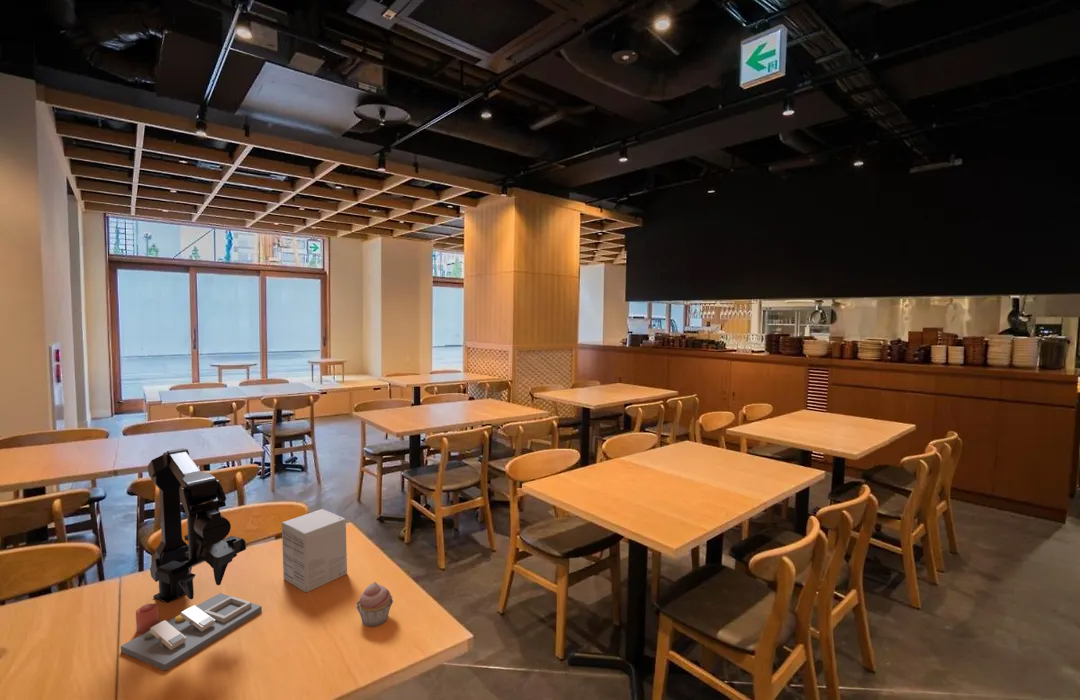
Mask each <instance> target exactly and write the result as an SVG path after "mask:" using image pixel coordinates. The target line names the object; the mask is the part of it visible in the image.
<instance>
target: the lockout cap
mask: <svg viewBox="0 0 1080 700" xmlns="http://www.w3.org/2000/svg"><path fill="white" fill-rule="evenodd" d="M159 618H160V617H159V605H158V604H156V603H147V604H144V605H141V606H140V607H138V609H136V611H135V620H136V621H135V622H136V625H135V626H136V633H137V634H140V635H142V634H144V633H146V632H148V631H150V628H151V627H153V626H155V625H156V624H158V623H160V622H159V621H160V619H159Z"/></svg>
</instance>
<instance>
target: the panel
mask: <svg viewBox="0 0 1080 700" xmlns="http://www.w3.org/2000/svg"><path fill="white" fill-rule="evenodd" d="M195 606H196V607H198V608H199V609H201V610H202V611H203V612H206V613H207V614H208V615H209V616H211V617H212V618H213V619H215V624H214V625H212V626H211V627H209V628H207V629H205V630H204V631H200V630H199V629H198V628H196V627H195V626H193V625H192V624H190V623H189V622H188V621H187V620H185V619H184V618H182V617H181V613H180V614H178V615H176V616H175V617H173V618H170V619H168V620H166V621H167V622H168V623H169V624H170V625H172V626H173V627H174V628H177V629H178V631H179V632H180V633H181V634H183V635H184V636H185V637H186V642H184V643H183V644H181V645H179V646H177V647H176V648H174V649H172V650H170V649H169V648H168V647H167V646H166V645H165V644H163V643H162V642H161V641H158V639H157V638H156V637H155V636H154V635H153V634H152V633H150V631H148V632H146V633H144V634H140V635H139V636H137V637H134V638H133V639H131V640H129V641H127V642H126V643H123V644H122V645H120V652H121V653H123V654H124V655H127V656H130V657H131V658H134V659H137V660H139V661H141V662H143V663H146V664H148V665H150V666H153V667H155V668H157V669H159V670H162V671H164V672H166V671H168V670H169V669H170V668H173V667H174V666H177V664H179V663H180V662H182V661H184V660H186V659H187V658H189V657H190V656H193V655H194V654H195V653H197V652H199V651H200V650H202V649H203V648H205V647H207V646H208V645H209V644H211V643H213V642H215V641H216V640H218V639H219V638H221V637H223V636H224V635H226V634H228V633H229V632H231V631H232V630H234V629H236V628H238V627H240V626H241V625H242V624H244V623H246V622H247V621H249V620H251V619H252V618H254V617H255V616H257V615H259V614H260V613H262V609H263V607H262V605H259V604H257V603H253V602H252V601H248V600H245V599H243V598H239V597H236V596H233V595H231V596H230V595H228V594H225V593H221V592H219V593H217V594H216V595H214V596H211V597H210V598H208V599H206V600H205V601H202V602H201V603H199V604H197V605H195Z"/></svg>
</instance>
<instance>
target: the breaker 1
mask: <svg viewBox="0 0 1080 700" xmlns="http://www.w3.org/2000/svg"><path fill="white" fill-rule="evenodd" d="M167 621H168V620H166V619H165V620H163V621H160V622H159V623H158V624H156V625H155V626H153V627H151V628H150V633H152V634H153V635H154V636H155V637H156V638H157V639H158V641H161V642H162V643H163V644H165V645H166V646H167V647H168V648H169V649H170V650H172V649H174V648H176V647H177V646H179V645H181V644H183V643H184V642H186V637H185V636H184V635H183V634H181V633H180V632H179V631H178V629H177V628H174V627H173V626H172V625H170V624H169V623H168V622H167Z"/></svg>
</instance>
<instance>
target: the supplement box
mask: <svg viewBox="0 0 1080 700" xmlns="http://www.w3.org/2000/svg"><path fill="white" fill-rule="evenodd" d="M281 535H282V539H281V540H282V542H281V543H282V569H283V571H282V573H283V574H282V575H283V579H284V580H285V581H287V582H288V583H289V584H291V585H293V586H295V587H296V588H298V589H300V590H301V591H302V592H304V593H308V592H311V591H313V590H316V589H317V588H320V587H321V586H324V585H326V584H328V583H330V582H332V581H335V580H337V579H338V578H341V577H343V576H345V575H347V574H348V563H347V562H348V558H347V557H348V553H347V519H346V517H345V518H344V516H343V517H342V516H340V515H338V514H335V513H333V512H330V511H328V510H326V509H323V508H321V509H316V510H315V511H311V512H309V513H306V514H303V515H300V516H297V517H294V518H292V519H287V520H285V521H282V522H281Z"/></svg>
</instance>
